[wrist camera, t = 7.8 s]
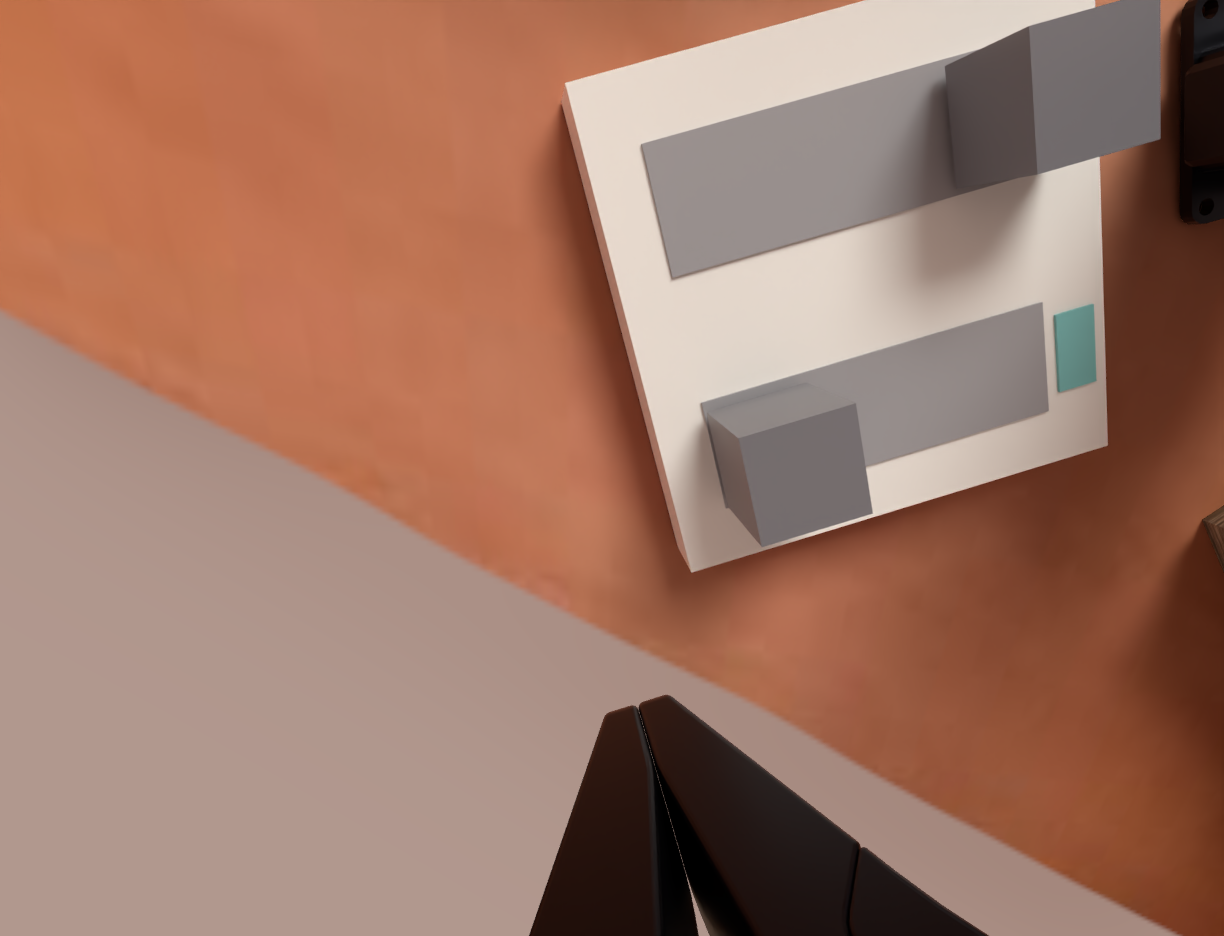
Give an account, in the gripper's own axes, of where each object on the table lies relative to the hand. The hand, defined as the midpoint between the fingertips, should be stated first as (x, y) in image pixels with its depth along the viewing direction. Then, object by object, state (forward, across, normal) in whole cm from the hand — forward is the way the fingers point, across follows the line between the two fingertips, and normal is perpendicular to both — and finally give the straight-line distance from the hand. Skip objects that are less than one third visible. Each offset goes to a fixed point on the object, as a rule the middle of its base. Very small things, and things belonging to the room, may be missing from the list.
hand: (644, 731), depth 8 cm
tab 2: (+11, -14, -6) cm, 18 cm away
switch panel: (+13, -10, -3) cm, 17 cm away
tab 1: (+11, -6, +1) cm, 12 cm away
